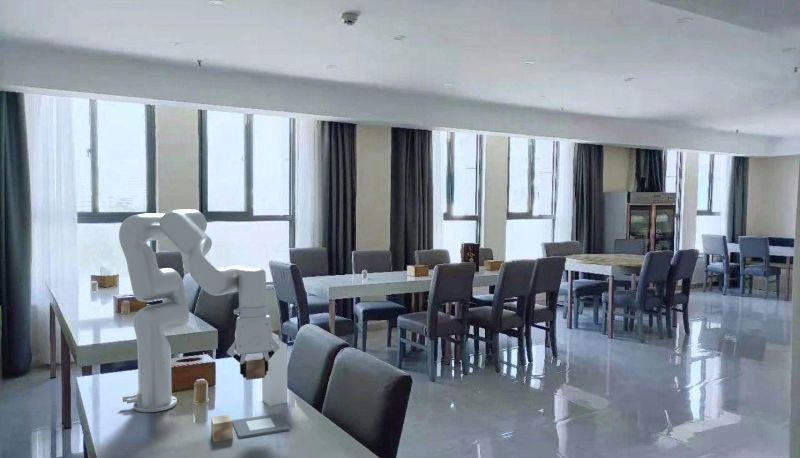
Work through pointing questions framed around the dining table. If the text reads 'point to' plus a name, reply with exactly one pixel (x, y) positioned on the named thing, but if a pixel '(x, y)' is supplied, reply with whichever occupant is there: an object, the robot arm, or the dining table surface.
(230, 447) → the dining table surface
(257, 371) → the walnut block
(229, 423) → the oak block
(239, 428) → the mat
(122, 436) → the dining table surface
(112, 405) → the dining table surface
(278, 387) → the milk
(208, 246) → the robot arm
